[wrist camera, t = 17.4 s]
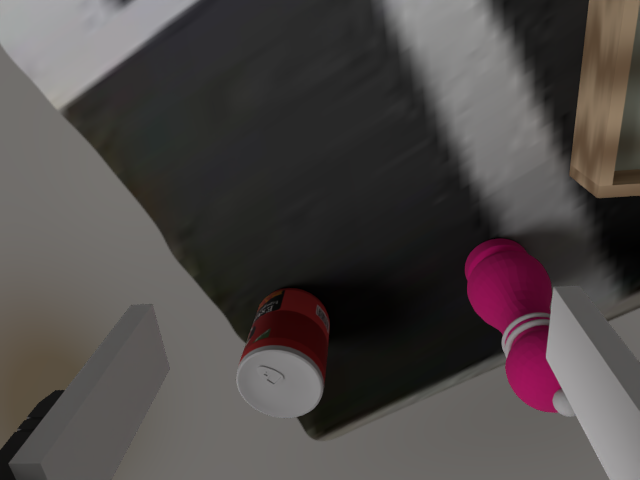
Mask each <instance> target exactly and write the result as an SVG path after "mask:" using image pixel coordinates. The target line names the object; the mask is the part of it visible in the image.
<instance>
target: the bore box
mask: <svg viewBox="0 0 640 480" xmlns="http://www.w3.org/2000/svg"><path fill="white" fill-rule="evenodd" d="M569 176H571V177H572V178H573V179H574V180H576V181H577V182H578V183H579V184H581V185H582V186H583V187H584V188H586V189H587V190H588V191H589V192H590V193H592V194H593V195H594V196H595V197H597V198H606V197H622V196H639V195H640V0H589V6H588V15H587V24H586V33H585V42H584V51H583V59H582V68H581V77H580V86H579V95H578V104H577V112H576V121H575V130H574V139H573V148H572V157H571V165H570V174H569Z"/></svg>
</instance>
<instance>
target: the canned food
mask: <svg viewBox="0 0 640 480" xmlns="http://www.w3.org/2000/svg"><path fill="white" fill-rule="evenodd" d="M329 329H330V320H329V316H328V313H327V311H326V309H325V307H324V305H323V304H322V303H321V301H320V300H319V299H318V298H316V297H315V296H314V295H312V294H311V293H309V292H307V291H304V290H301V289H296V288H285V289H280V290H277V291H275V292H273V293H271V294H270V295H269V296H267V297H266V298H265V299H264V300H263V301H262V303H261V304H260V306H259V308H258V311H257V314H256V317H255V319H254V322H253V325H252V328H251V331H250V334H249V337H248V339H247V342H246V345H245V348H244V351H243V354H242V357H241V360H240V363H239V366H238V370H237V377H236V382H237V387H238V389H239V392H240V394H241V395H242V397H243V399H244V400H245V401H246V402H247V403H248V404H249V405H250V406H252V407H253V408H254V409H256V410H258V411H260V412H261V413H264V414H267V415H269V416H274V417H278V418H291V417H298V416H301V415H304V414H306V413H308V412H310V411H311V410H312V409H314V408H315V407H316V405H317V404H318V403H319V401H320V399H321V397H322V393H323V389H324V381H325V373H326V362H327V351H328V340H329Z"/></svg>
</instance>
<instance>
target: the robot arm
mask: <svg viewBox="0 0 640 480" xmlns="http://www.w3.org/2000/svg"><path fill="white" fill-rule="evenodd" d="M546 359H547V361H548V363H549V365H550V367H551V369H552V371H553V373H554V374H555V376H556V378H557V380H558V382H559V384H560V386H561V388H562V390H563V392H564V394H565V395H566V397H567V399H568V401H569V403H570V405H571V407H572V409H573V411H574V413H575V414H576V416H577V418H578V420H579V422H580V424H581V426H582V428H583V429H584V432H585V433H586V435H587V437H588V439H589V441H590V443H591V445H592V447H593V449H594V450H595V452H596V454H597V456H598V458H599V460H600V462H601V464H602V466H603V468H604V469H605V471H606V473H607V475H608V477H609V479H610V480H640V362H639V361H638V360H637V359H636V357H635V356H634V355H633V353H632V352H631V351H630V350H629V348H628V347H627V346H626V345H625V343H624V342H623V341H622V340H621V338H620V337H619V336H618V334H617V333H616V332H615V330H614V329H613V328H612V327H611V325H610V324H609V323H608V321H607V320H606V319H605V318H604V316H603V315H602V314H601V313H600V311H599V310H598V309H597V307H596V306H595V305H594V304H593V302H592V301H591V300H590V298H589V297H588V296H587V295H586V293H585V292H584V291H583V290H582V288H581V287H580V286H579V285H577V286H554V288H553V297H552V306H551V315H550V324H549V333H548V342H547V351H546ZM169 370H170V367H169V363H168V360H167V356H166V352H165V349H164V345H163V341H162V338H161V334H160V330H159V326H158V323H157V319H156V315H155V312H154V308H153V305H152V304H140V305H131V306H130V307H129V308H128V309H127V311H126V312H125V313H124V315H123V316H122V317H121V319H120V320H119V321H118V322H117V324H116V325H115V326H114V328H113V329H112V330H111V332H110V333H109V334H108V335H107V337H106V338H105V339H104V341H103V342H102V343H101V345H100V346H99V347H98V349H97V350H96V351H95V352H94V354H93V355H92V356H91V357H90V359H89V360H88V361H87V363H86V364H85V365H84V367H83V368H82V369H81V370H80V372H79V373H78V374H77V375H76V377H75V378H74V379H73V381H72V382H71V383H70V385H69V386H68V387H67V388H66V390H55V391H54V392H53V393H51V394H50V395H49V396H47V397H46V398H45V399H43V400H42V401H41V402H39V403H38V404H37V406H36V407H35V408H34V409H33V410H32V412H31V413H30V414H29V415H28V417H27V420H24V421H23V423H22V424H21V425H20V426H19V428H18V429H17V430H18V431H17V432H15V433H14V434H13V435H12V436H11V437H10V439H9V440H8V442H6V444H5V445H4V446H3V448H2V449H1V450H0V480H111V479H112V477H113V476H114V473H115V472H116V470H117V468H118V466H119V464H120V462H121V460H122V459H123V457H124V455H125V453H126V451H127V449H128V447H129V445H130V443H131V441H132V440H133V438H134V436H135V434H136V432H137V430H138V428H139V426H140V424H141V423H142V421H143V419H144V417H145V415H146V413H147V411H148V409H149V407H150V405H151V404H152V402H153V400H154V398H155V396H156V394H157V392H158V390H159V388H160V387H161V385H162V383H163V381H164V379H165V377H166V375H167V373H168V371H169Z"/></svg>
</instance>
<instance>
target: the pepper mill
mask: <svg viewBox="0 0 640 480" xmlns="http://www.w3.org/2000/svg"><path fill="white" fill-rule="evenodd" d="M465 275H466V278H467V281H468V284H467V292H468V298H469V300H470V303H471V304H472V306H473V308H474V310H475V311H476V313H477V314H478V315H479V316H480V317H481V318H482V319H483V320H484V321H485V322H486V323H488V324H489V325H491V326H493V327H495V328H497V329H498V330H499V331H500V332H501V333H502V334H503V337H502V348H503V351H504V353H505V355H506V358H507V360H506V366H505V369H506V374H507V378H508V381H509V384H510V385H511V387H512V389H513V390H514V392H515V393H516V395H517V396H518V397H519V398H520V399H521V400H522V401H523V402H525V403H526V404H527V405H529V406H531V407H533V408H535V409H537V410H540V411H544V412H554V413H555V412H559V413H561V414H562V415H564V416H575V415H576V414H575V413H574V411H573V409H572V407H571V405H570V403H569V401H568V399H567V397H566V395H565V394H564V392H563V390H562V388H561V386H560V384H559V382H558V380H557V378H556V376H555V374H554V373H553V371H552V369H551V367H550V365H549V363H548V361H547V359H546V351H547V342H548V333H549V324H550V315H551V311H550V303H551V298H552V288H551V281H550V278H549V276H548V274H547V272H546V270H545V268H544V267H543V265H542V264H541V263H540V262H539V261H538V260H537V259H536V258H534V257H532V256H531V255H529V254H528V253H527V252H526V250H525V249H524V248H523V247H522V246H521V245H520V244H518V243H517V242H515V241H512V240H509V239H501V238H500V239H491V240H488V241H486V242H483V243H481V244H480V245H478V246H477V247H476V248H475V249H474V250H473V251H472V252H471V253H470V254H469V256H468V258H467V260H466V264H465Z"/></svg>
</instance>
